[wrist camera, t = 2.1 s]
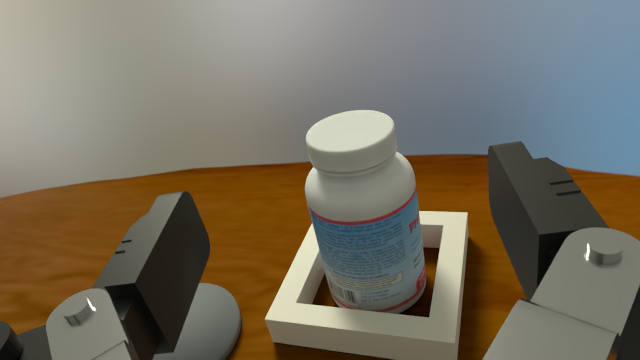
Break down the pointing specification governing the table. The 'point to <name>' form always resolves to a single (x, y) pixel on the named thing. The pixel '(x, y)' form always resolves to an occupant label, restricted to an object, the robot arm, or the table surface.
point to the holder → (368, 326)
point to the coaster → (208, 326)
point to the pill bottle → (365, 213)
